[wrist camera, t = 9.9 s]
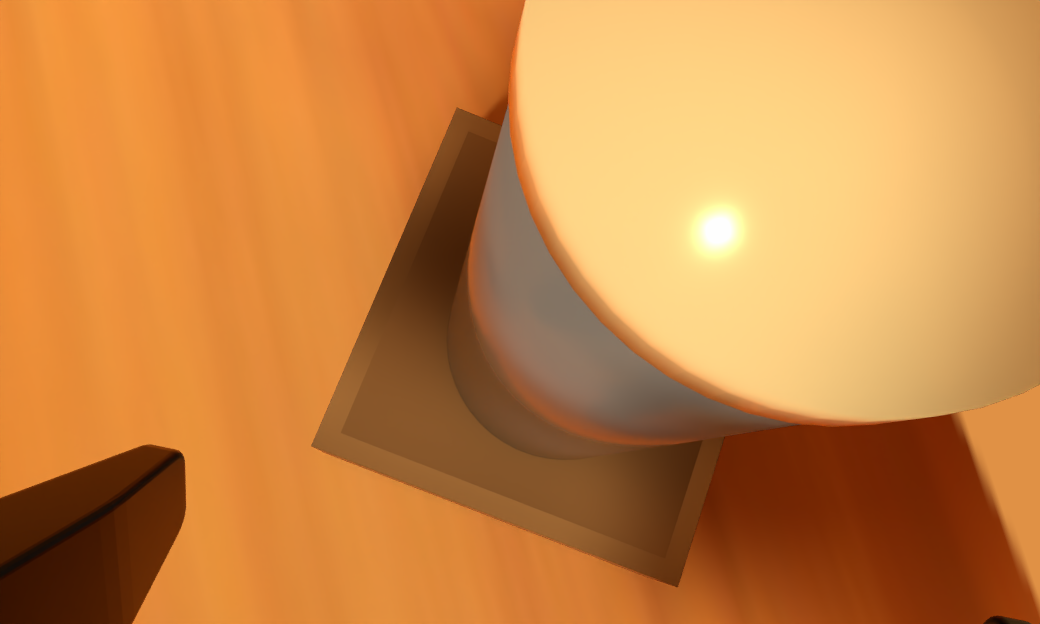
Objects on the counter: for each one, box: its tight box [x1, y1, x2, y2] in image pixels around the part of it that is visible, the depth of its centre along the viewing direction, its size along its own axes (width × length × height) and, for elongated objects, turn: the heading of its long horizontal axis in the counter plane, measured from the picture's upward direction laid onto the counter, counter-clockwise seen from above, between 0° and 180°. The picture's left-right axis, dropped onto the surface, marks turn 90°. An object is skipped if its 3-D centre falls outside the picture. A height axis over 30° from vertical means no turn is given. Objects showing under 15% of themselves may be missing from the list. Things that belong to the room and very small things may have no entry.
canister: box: [446, 0, 1040, 460], centre depth 14 cm, size 6×6×14 cm
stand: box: [311, 108, 725, 587], centre depth 22 cm, size 9×9×3 cm
